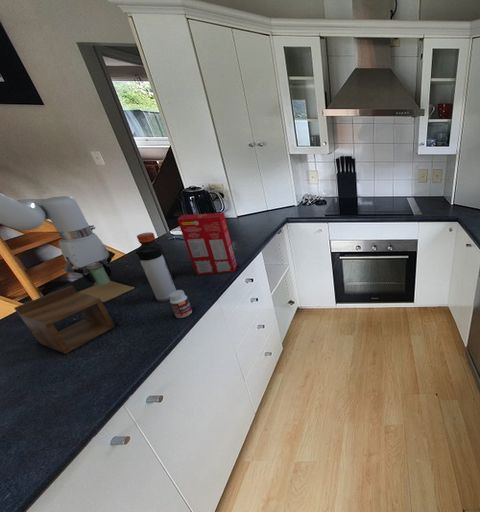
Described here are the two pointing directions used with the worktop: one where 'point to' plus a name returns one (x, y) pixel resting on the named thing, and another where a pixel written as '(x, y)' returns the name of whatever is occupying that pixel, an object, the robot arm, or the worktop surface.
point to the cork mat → (107, 290)
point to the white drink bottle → (151, 245)
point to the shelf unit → (59, 307)
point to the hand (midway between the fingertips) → (100, 278)
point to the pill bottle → (180, 304)
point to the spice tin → (98, 274)
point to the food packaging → (208, 243)
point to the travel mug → (156, 272)
